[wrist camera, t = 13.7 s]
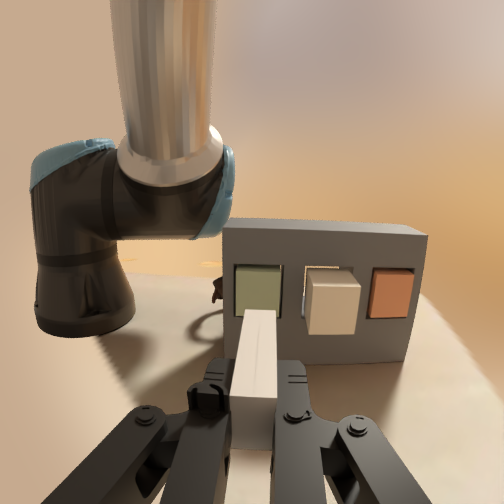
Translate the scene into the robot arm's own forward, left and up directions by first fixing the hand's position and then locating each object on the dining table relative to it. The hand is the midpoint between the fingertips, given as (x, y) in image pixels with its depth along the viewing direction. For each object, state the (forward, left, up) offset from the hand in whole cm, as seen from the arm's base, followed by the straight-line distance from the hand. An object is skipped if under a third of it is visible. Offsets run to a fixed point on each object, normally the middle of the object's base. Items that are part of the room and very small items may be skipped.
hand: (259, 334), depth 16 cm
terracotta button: (+12, +16, -5) cm, 21 cm away
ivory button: (+6, +12, -5) cm, 15 cm away
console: (+6, +17, -11) cm, 21 cm away
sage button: (-1, +16, -5) cm, 17 cm away
